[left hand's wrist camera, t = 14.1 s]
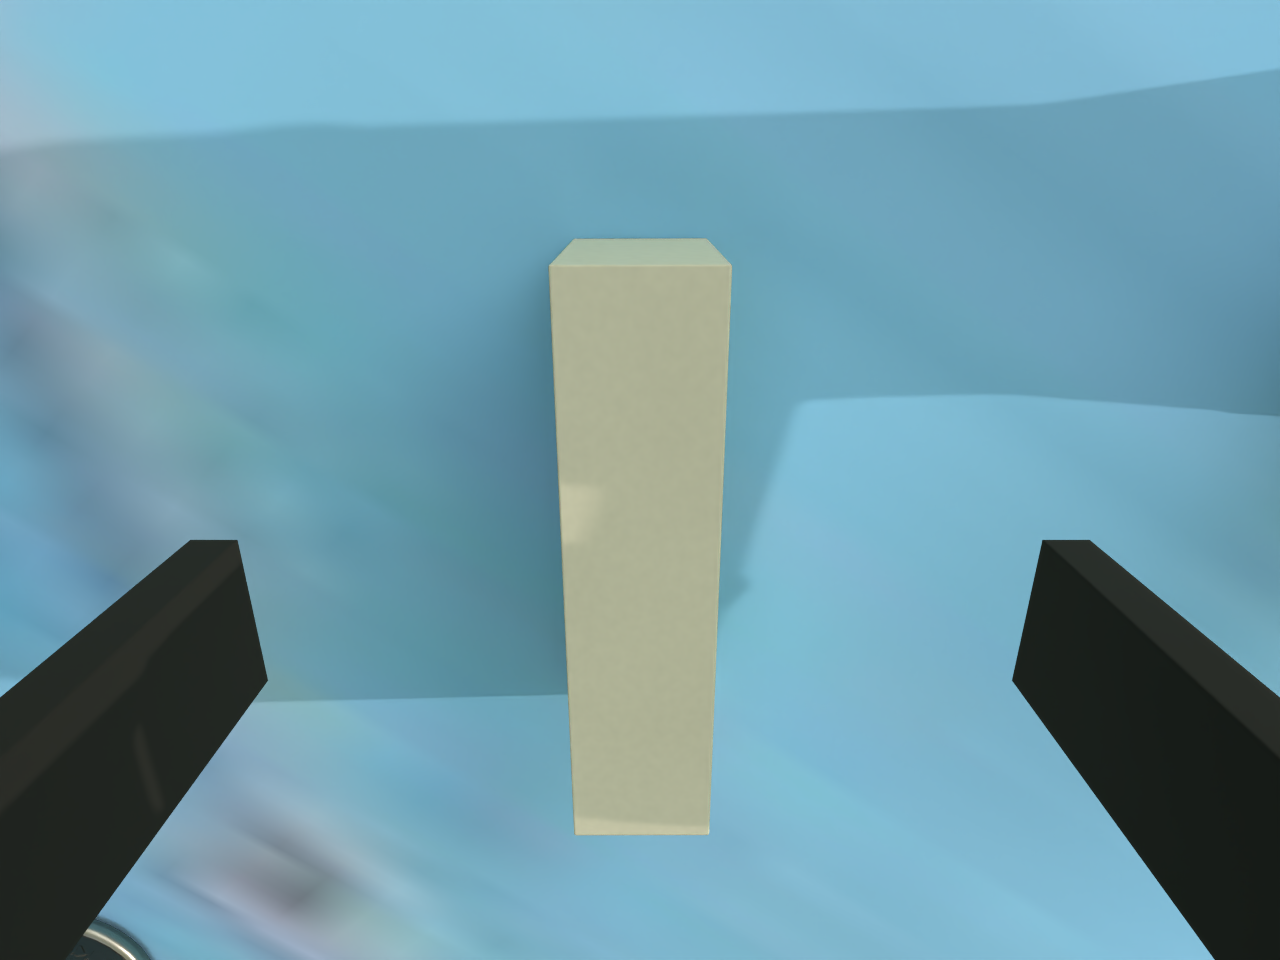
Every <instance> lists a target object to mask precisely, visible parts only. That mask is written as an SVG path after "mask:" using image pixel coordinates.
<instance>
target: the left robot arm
mask: <svg viewBox="0 0 1280 960" xmlns="http://www.w3.org/2000/svg"><path fill="white" fill-rule="evenodd" d="M267 681H268V679H267V674H266V670H265V665H264V660H263V656H262V651H261V646H260V642H259V637H258V633H257V628H256V623H255V619H254V614H253V610H252V605H251V600H250V596H249V591H248V587H247V582H246V577H245V573H244V568H243V564H242V559H241V554H240V550H239V545H238V540H190V541H189V542H187V543H186V544H185V545H184V546H183V547H181V548H180V549H179V550H178V551H177V552H175V553H174V554H173V555H172V556H171V557H169V558H168V559H167V560H166V561H165V562H163V563H162V564H161V565H160V566H158V567H157V568H156V569H155V570H154V571H152V572H151V573H150V574H149V575H148V576H146V577H145V578H144V579H143V580H142V581H140V582H139V583H138V584H137V585H136V586H134V587H133V588H132V589H131V590H129V591H128V592H127V593H126V594H125V595H123V596H122V597H121V598H120V599H119V600H117V601H116V602H115V603H114V604H113V605H111V606H110V607H109V608H108V609H107V610H105V611H104V612H103V613H102V614H100V615H99V616H98V617H97V618H96V619H94V620H93V621H92V622H91V623H90V624H88V625H87V626H86V627H85V628H84V629H82V630H81V631H80V632H79V633H78V634H76V635H75V636H74V637H73V638H72V639H70V640H69V641H68V642H67V643H65V644H64V645H63V646H62V647H61V648H59V649H58V650H57V651H56V652H55V653H53V654H52V655H51V656H50V657H49V658H47V659H46V660H45V661H44V662H43V663H41V664H40V665H39V666H38V667H36V668H35V669H34V670H33V671H32V672H30V673H29V674H28V675H27V676H26V677H24V678H23V679H22V680H21V681H20V682H18V683H17V684H16V685H15V686H14V687H12V688H11V689H10V690H9V691H7V692H6V693H5V694H4V695H3V696H1V697H0V960H65V959H66V958H67V957H68V955H69V954H70V952H71V951H72V950H73V948H74V947H75V945H76V944H77V943H78V941H79V940H80V939H81V937H82V936H83V934H84V933H85V932H86V930H87V929H88V928H89V926H90V925H91V923H92V922H93V921H94V919H95V918H96V917H97V915H98V914H99V912H100V911H101V910H102V908H103V907H104V906H105V904H106V903H107V901H108V900H109V899H110V897H111V896H112V895H113V893H114V892H115V890H116V889H117V888H118V886H119V885H120V884H121V882H122V881H123V879H124V878H125V877H126V875H127V874H128V872H129V871H130V870H131V868H132V867H133V866H134V864H135V863H136V861H137V860H138V859H139V857H140V856H141V855H142V853H143V852H144V850H145V849H146V848H147V846H148V845H149V844H150V842H151V841H152V839H153V838H154V837H155V835H156V834H157V833H158V831H159V830H160V828H161V827H162V826H163V824H164V823H165V822H166V820H167V819H168V817H169V816H170V815H171V813H172V812H173V810H174V809H175V808H176V806H177V805H178V804H179V802H180V801H181V799H182V798H183V797H184V795H185V794H186V793H187V791H188V790H189V788H190V787H191V786H192V784H193V783H194V782H195V780H196V779H197V777H198V776H199V775H200V773H201V772H202V771H203V769H204V768H205V766H206V765H207V764H208V762H209V761H210V760H211V758H212V757H213V755H214V754H215V753H216V751H217V750H218V748H219V747H220V746H221V744H222V743H223V742H224V740H225V739H226V737H227V736H228V735H229V733H230V732H231V731H232V729H233V728H234V726H235V725H236V724H237V722H238V721H239V720H240V718H241V717H242V715H243V714H244V713H245V711H246V710H247V709H248V707H249V706H250V704H251V703H252V702H253V700H254V699H255V698H256V696H257V695H258V693H259V692H260V691H261V689H262V688H263V686H264V685H265V684H266V682H267ZM1012 681H1013V682H1014V684H1015V685H1016V686H1017V688H1018V689H1019V691H1020V692H1021V693H1022V695H1023V696H1024V698H1025V699H1026V700H1027V702H1028V703H1029V704H1030V706H1031V707H1032V709H1033V710H1034V711H1035V713H1036V714H1037V715H1038V717H1039V718H1040V720H1041V721H1042V722H1043V724H1044V725H1045V726H1046V728H1047V729H1048V731H1049V732H1050V733H1051V735H1052V736H1053V737H1054V739H1055V740H1056V742H1057V743H1058V744H1059V746H1060V747H1061V748H1062V750H1063V751H1064V753H1065V754H1066V755H1067V757H1068V758H1069V760H1070V761H1071V762H1072V764H1073V765H1074V766H1075V768H1076V769H1077V771H1078V772H1079V773H1080V775H1081V776H1082V777H1083V779H1084V780H1085V782H1086V783H1087V784H1088V786H1089V787H1090V788H1091V790H1092V791H1093V793H1094V794H1095V795H1096V797H1097V798H1098V799H1099V801H1100V802H1101V804H1102V805H1103V806H1104V808H1105V809H1106V810H1107V812H1108V813H1109V815H1110V816H1111V817H1112V819H1113V820H1114V822H1115V823H1116V824H1117V826H1118V827H1119V828H1120V830H1121V831H1122V833H1123V834H1124V835H1125V837H1126V838H1127V839H1128V841H1129V842H1130V844H1131V845H1132V846H1133V848H1134V849H1135V850H1136V852H1137V853H1138V855H1139V856H1140V857H1141V859H1142V860H1143V861H1144V863H1145V864H1146V866H1147V867H1148V868H1149V870H1150V871H1151V872H1152V874H1153V875H1154V877H1155V878H1156V879H1157V881H1158V882H1159V884H1160V885H1161V886H1162V888H1163V889H1164V890H1165V892H1166V893H1167V895H1168V896H1169V897H1170V899H1171V900H1172V901H1173V903H1174V904H1175V906H1176V907H1177V908H1178V910H1179V911H1180V912H1181V914H1182V915H1183V917H1184V918H1185V919H1186V921H1187V922H1188V923H1189V925H1190V926H1191V928H1192V929H1193V930H1194V932H1195V933H1196V934H1197V936H1198V937H1199V939H1200V940H1201V941H1202V943H1203V944H1204V946H1205V947H1206V948H1207V950H1208V951H1209V952H1210V954H1211V955H1212V957H1213V958H1214V959H1215V960H1280V697H1279V696H1277V695H1276V694H1275V693H1274V692H1273V691H1271V690H1270V689H1269V688H1268V687H1266V686H1265V685H1264V684H1263V683H1262V682H1260V681H1259V680H1258V679H1257V678H1256V677H1254V676H1253V675H1252V674H1251V673H1250V672H1248V671H1247V670H1246V669H1245V668H1244V667H1242V666H1241V665H1240V664H1239V663H1237V662H1236V661H1235V660H1234V659H1233V658H1231V657H1230V656H1229V655H1228V654H1227V653H1225V652H1224V651H1223V650H1222V649H1221V648H1219V647H1218V646H1217V645H1216V644H1215V643H1213V642H1212V641H1211V640H1210V639H1208V638H1207V637H1206V636H1205V635H1204V634H1202V633H1201V632H1200V631H1199V630H1198V629H1196V628H1195V627H1194V626H1193V625H1192V624H1190V623H1189V622H1188V621H1187V620H1186V619H1184V618H1183V617H1182V616H1181V615H1180V614H1178V613H1177V612H1176V611H1175V610H1173V609H1172V608H1171V607H1170V606H1169V605H1167V604H1166V603H1165V602H1164V601H1163V600H1161V599H1160V598H1159V597H1158V596H1157V595H1155V594H1154V593H1153V592H1152V591H1151V590H1149V589H1148V588H1147V587H1146V586H1144V585H1143V584H1142V583H1141V582H1140V581H1138V580H1137V579H1136V578H1135V577H1134V576H1132V575H1131V574H1130V573H1129V572H1128V571H1126V570H1125V569H1124V568H1123V567H1122V566H1120V565H1119V564H1118V563H1117V562H1115V561H1114V560H1113V559H1112V558H1111V557H1109V556H1108V555H1107V554H1106V553H1105V552H1103V551H1102V550H1101V549H1100V548H1099V547H1097V546H1096V545H1095V544H1094V543H1093V542H1091V541H1090V540H1042V545H1041V550H1040V554H1039V559H1038V564H1037V568H1036V573H1035V577H1034V582H1033V587H1032V591H1031V596H1030V600H1029V605H1028V610H1027V614H1026V619H1025V623H1024V628H1023V633H1022V637H1021V642H1020V646H1019V651H1018V656H1017V660H1016V665H1015V670H1014V674H1013V679H1012Z"/></svg>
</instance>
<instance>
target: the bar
mask: <svg viewBox="0 0 1280 960" xmlns="http://www.w3.org/2000/svg"><path fill="white" fill-rule="evenodd" d="M731 280H732V265H731V264H730V263H729V262H728V261H727V260H726V259H725V258H724V256H723V255H722V254H721V253H720V252H719V251H718V250H717V249H716V248H715V247H714V246H713V245H712V244H711V243H710V242H709V241H708V240H707V239H706V238H665V239H573V240H572V241H571V243H570V244H569V245H568V246H567V247H566V248H565V249H564V250H563V251H562V252H561V253H560V254H559V255H558V256H557V257H556V259H555V260H554V261H553V262H552V263H551V264H550V265H549V288H550V310H551V332H552V354H553V376H554V398H555V420H556V442H557V464H558V486H559V508H560V530H561V552H562V574H563V596H564V618H565V640H566V662H567V684H568V706H569V728H570V750H571V772H572V794H573V816H574V834H575V835H708V834H709V821H710V796H711V772H712V747H713V722H714V698H715V673H716V649H717V624H718V599H719V575H720V550H721V526H722V501H723V476H724V452H725V427H726V403H727V378H728V354H729V329H730V304H731Z"/></svg>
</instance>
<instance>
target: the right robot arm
mask: <svg viewBox="0 0 1280 960" xmlns="http://www.w3.org/2000/svg"><path fill="white" fill-rule="evenodd" d="M65 960H150V959H149V957H148V955H147V954H146V953H145V951H144V950H143V949H142V948H141V947H140V946H139V945H138V944H137V943H136V942H135V941H134V940H133V939H131V938H130V937H129V936H127V935H126V934H125V933H123V932H121V931H120V930H118V929H116V928H114V927H112V926H110V925H108V924H106V923H104V922H101V921H98V920H95V919H94V921H93V922H92V923H91V925H90V926H89V928H88V929H87V930H86V932H85V933H84V934H83V936H82V937H81V939H80V940H79V941H78V943H77V944H76V945H75V947H74V948H73V950H72V951H71V952H70V954H69V955H68V957H67V958H66V959H65Z"/></svg>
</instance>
